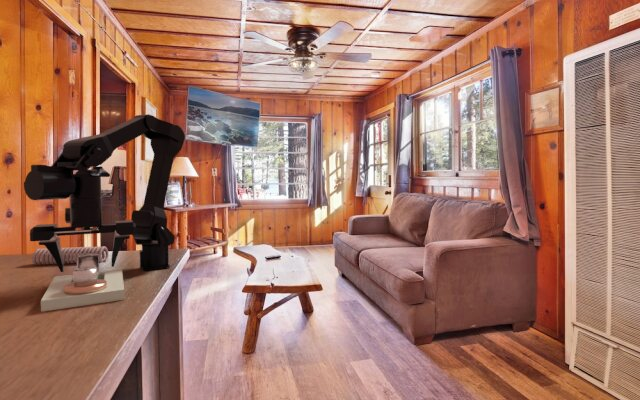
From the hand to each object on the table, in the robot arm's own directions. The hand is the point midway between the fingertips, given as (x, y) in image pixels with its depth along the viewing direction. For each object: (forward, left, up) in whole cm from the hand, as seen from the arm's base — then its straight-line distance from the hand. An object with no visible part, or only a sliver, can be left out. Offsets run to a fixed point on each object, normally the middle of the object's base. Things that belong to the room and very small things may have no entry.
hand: (88, 269), depth 77 cm
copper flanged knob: (0, +9, -2) cm, 9 cm away
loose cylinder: (0, 0, -4) cm, 4 cm away
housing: (0, +4, -4) cm, 6 cm away
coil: (+5, -29, -4) cm, 30 cm away
